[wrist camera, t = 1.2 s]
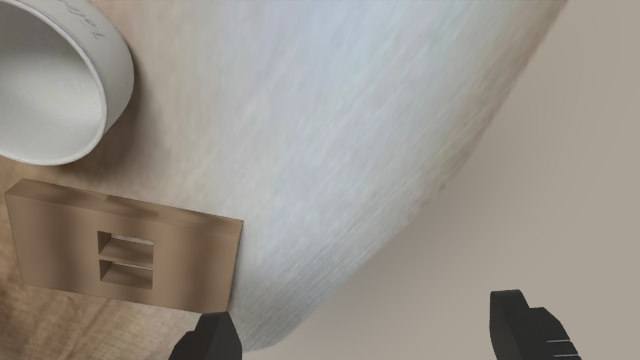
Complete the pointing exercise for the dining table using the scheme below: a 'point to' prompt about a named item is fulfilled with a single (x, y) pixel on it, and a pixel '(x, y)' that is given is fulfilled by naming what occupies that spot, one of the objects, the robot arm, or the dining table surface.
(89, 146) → the teacup
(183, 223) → the rectangular block with slots
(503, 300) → the robot arm
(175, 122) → the dining table surface
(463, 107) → the dining table surface
